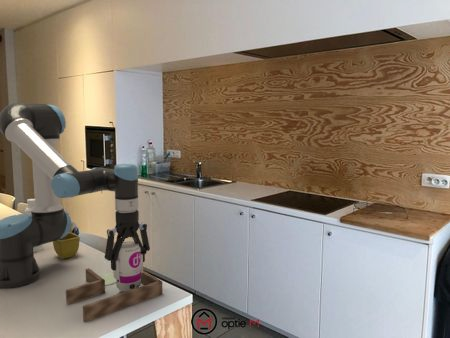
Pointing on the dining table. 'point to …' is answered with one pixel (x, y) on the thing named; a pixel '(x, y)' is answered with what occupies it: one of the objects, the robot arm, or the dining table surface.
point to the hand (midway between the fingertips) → (128, 274)
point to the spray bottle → (28, 211)
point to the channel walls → (114, 302)
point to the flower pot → (67, 246)
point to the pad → (109, 279)
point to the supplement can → (129, 266)
